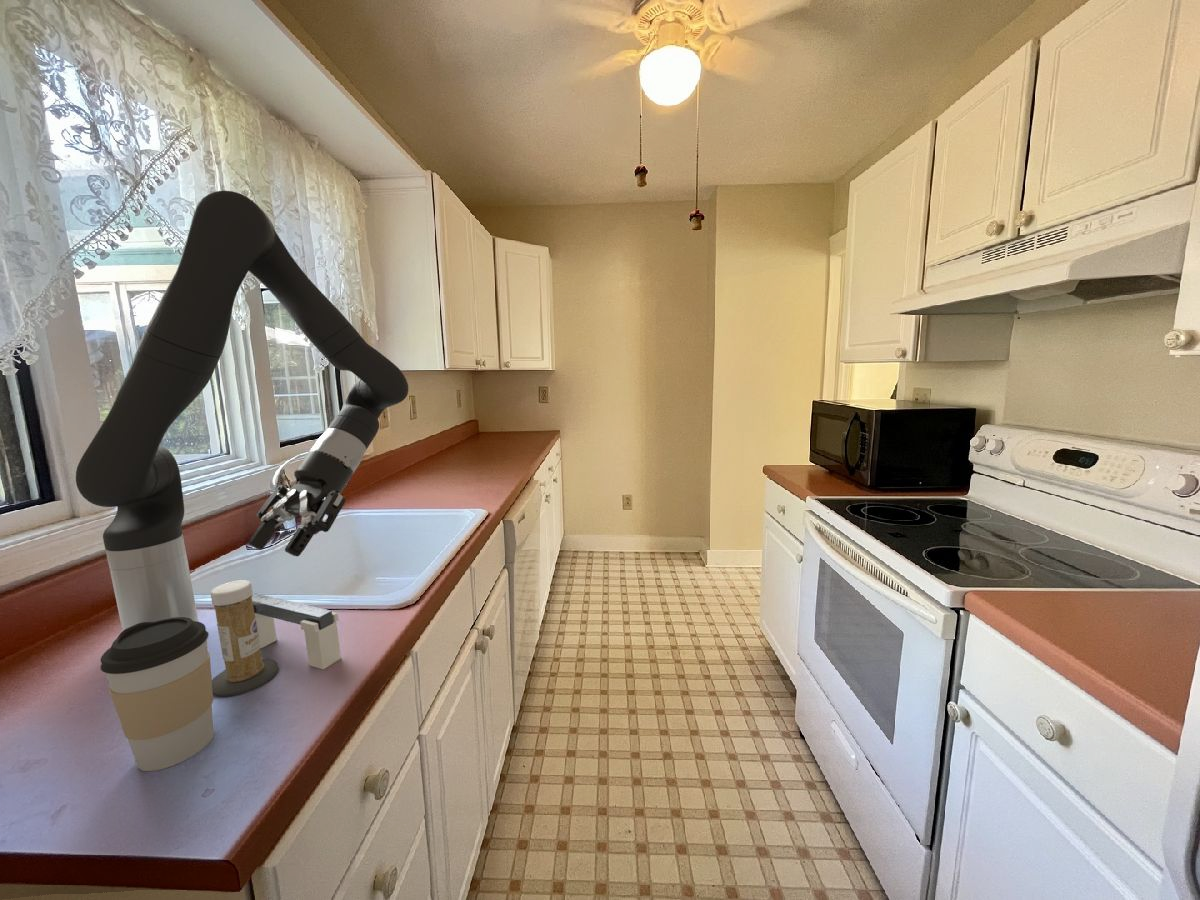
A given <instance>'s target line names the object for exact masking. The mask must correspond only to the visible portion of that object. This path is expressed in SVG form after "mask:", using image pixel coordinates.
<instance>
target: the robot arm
mask: <svg viewBox="0 0 1200 900" xmlns="http://www.w3.org/2000/svg"><path fill="white" fill-rule="evenodd" d="M248 272H249V273H250V274H251V275H253V276H254V277H255V279H257V280H258V281H259V282H261V284H262V285H263V286H264V287H265V288H266V289H267V290H268V291H269V292H271V293H270V294H272V295H273V296H274V298H276V300H277V301H278V302H279V303H280V305H281V306H282V308H284V310H285V312H287V314H289V316H290V317H291V319H292V320H293V322H294V323H295V324H296V325H297V327H298V328H299V329H300V330H301V331H302V333H303V334H304V335H305V336H306V338H308V339H307V340H309V342H311V344H313V346H314V347H315V348H316V349H317V350H318V351H319V352H320V353H321V355H323V357H324V358H325V359H326V360H327V361H328V362H329V363H330V364H331V366H333V367H334V368H336V370H337V369H338V370H339V371H348V372H352V374H354V376H356V377H357V378H358V379H357V380H356V381H355V383H354V384H353V385H352V387H351V388H350V390H349V391H348V394H347V396H346V398H345V400H344V402H343V404H342V408H341V410H340V411H339V412H338V413H337V415H336V416H335V418H334V419H333V420H332V422H331V423H329V426H328V427H327V428H326V430H325V431H324V432H323V433H322V434H321V435H320V436H319V438H317V439H316V441H315V443H314V444H313V445H312V447H311V448H310V449H309V451H308V452H307V454H306V455H305V456H304V458H303V459H302V460H301V462H300V464H299V465H298V466H297V468H296V469H295V470H294V473H293V474H294V475H293V476H294V477H295V479H296V482H295V484H293V485H292V487H290V488H287V487H286V486H284V485H282V484H279V485H278V486H276V487H275V489H274V491H273V492H272V493H271V495H270V496H268V498H267V500H266V501H265V502H264V503H263V505H261V507H260V509H258V511H257V513H256V514H255V516H256V517H258V518H259V519H260V521H261V522H260V525H259V526H258V527H257V529H256V530H255V531H254V533H253V535H252V536H251V537H250V539H249V540H248V545H249V546H251V547H252V548H255V549H256V550H263V549H264V548H265V546H266V545H267V544H268V542H269V540H270V539H271V538H272V536H273V535H274V534H275V532H276V530H277V528H278V527H280V526H281V525H282V524H284V523H285V522H289V521H292V520H294V519H295V518H301V521H300V523H301V525H300V526H301V527H298V528H297V529H296V531H295V533H294V534H293V536H292V537H291V539H290V540H289V542H288V543H287V545H286V547H285V548H284V551H285V552H286V553H287V554H290V555H291V556H294V557H299V556H300V555H302V553H303V552H304V550H305V549H306V547H307V546H308V544H309V543H310V541H311V540H312V538H313V536H314V535H315V536H316V535H317V534H318V533H320V532H324V533H327V532H328V531H330V529H331V527H332V526H333V524H334V523H335V521H336V519H337V517H338V515H339V514H340V512H341V510H342V508H343V507H344V505H345V503H346V501H347V498H346V497H344V496H343V495H342V492H343V490H344V489H345V488H346V486H347V484H348V482H349V481H350V480H351V477H352V476H353V475H354V473H355V472H356V470H357V469H358V467H359V465H360V464H361V462H362V460H363V457H364V455H365V453H366V451H368V450H367V449H368V448H369V447H370V445H371V443H372V442H373V440H374V439H375V437H376V436H377V434H378V433H379V428H380V422H379V418H380V417H381V414H382V413H383V412H384V411H385V409H387V408H390V407H392V406H395V405H398V404H399V403H402V402H403V401H405V399H406V398H407V396H408V394H409V384H408V381H407V377H406V376H405V375H404V373H403V371H401V369H400V368H399V367H398V365H396V364H394V363H393V362H392V361H391V360H390V359H388V358H387V357H386V356H385V355H384V354H382V353H381V352H380V351H378V350H377V349H376V348H374V347H372V345H370V344H369V343H367V341H365V339H364V338H363V337H362V335H361V334H360V333H359V332H358V331H357V329H356V328H355V327H354V326H353V325H352V323H350V322H349V320H348V319H347V318H346V317H345V315H344V314H342V313H341V311H340V310H339V309H338V308H337V307H336V306H335V305H334V303H332V302H331V301H330V300H329V298H328V297H326V295H325V294H324V293H322V291H321V290H320V289H319V288H318V287H317V286H316V285H315V284H314V282H313V281H312V280H311V279H310V278H309V277H308V276H307V274H306V273H305V272H304V271H303V269H302V268H301V267H300V266H299V264H298V263H297V262H296V260H295V259H294V257H293V256H292V254H291V253H290V252H289V251H288V249H287V247H286V246H285V244H284V242H283V241H282V239H281V238H280V235H278V233H277V231H276V229H274V224H273V223H272V220H271V219H270V218H269V216H268V215H267V214H266V213H265V211H264V210H263V209H262V208H261V207H260V206H259V205H258V204H257V203H256V202H255V201H253V200H252V199H251V198H249V197H248V196H246V195H244V194H242V193H239V192H236V191H231V190H218V191H213V192H210V193H208V194H206V195H205V196H204V197H202V198H201V199H200V201H199V202H198V203H197V205H196V206H195V209H194V212H193V215H192V217H191V222H190V226H189V230H188V234H187V236H186V241H185V244H184V248H183V251H182V253H181V257H180V260H179V262H178V266H177V268H176V271H175V273H174V275H173V277H172V279H171V280H170V282H169V284H168V285H167V288H166V289H165V291H164V293H163V295H162V297H161V298H160V301H159V302H158V304H157V307H156V308H155V311H154V313H153V314H152V316H151V318H150V320H149V322H148V324H147V326H146V328H145V330H144V332H143V335H142V337H141V340H140V341H139V344H138V346H137V348H136V351H135V353H134V356H133V358H132V359H133V360H132V362H131V364H130V367H129V368H128V370H127V373H126V376H125V377H124V380H123V381H122V384H121V385H120V388H119V390H118V392H117V395H116V398H115V400H114V402H113V404H112V407H111V409H110V410H109V412H108V414H107V416H106V417H105V420H104V421H103V422H102V424H101V426H100V428H99V429H98V430H97V432H96V433H95V436H94V437H93V438H92V440H91V442H90V444H89V445H88V446H87V448H86V450H85V452H83V454H82V457H81V458H80V459H79V462H78V464H77V467H76V471H75V484H76V488H77V489H78V492H79V494H80V495H81V496H82V497H83V498H84V499H85V500H86V501H88V502H89V503H91V504H92V505H94V506H98V507H101V508H102V507H103V508H116V507H117V509H116V510H117V511H116V514H115V516H114V518H113V520H112V521H111V522H110V524H109V525H107V527H106V528H105V530H104V532H103V533H102V541H103V545H104V549H105V554H106V559H107V563H108V567H109V572H110V577H111V582H112V587H113V592H114V596H115V600H116V605H117V607H116V608H117V610H118V616H119V620H120V625H121V630H122V631H124V630H125V629H127V628H129V627H131V626H134V625H136V624H138V623H143V622H155V621H159V620H163V619H168V618H175V617H187V618H190V619H192V620H193V621H197V622H199V617H198V611H197V605H196V600H195V594H194V589H193V588H194V587H193V584H192V578H191V573H190V572H191V571H190V565H189V561H188V557H187V551H186V546H185V541H184V535H183V530H182V524H183V520H184V516H185V502H184V494H183V487H182V486H183V485H182V484H183V483H182V479H181V473H180V468H179V466H178V462H177V460H176V458H175V457H174V454H173V453H171V451H170V450H168V449H167V448H166V447H165V446H164V445H161V443H162V440H163V439H164V437H165V434H166V433H167V431H168V430H169V428H170V427H171V426H172V425H173V423H174V422H175V420H177V418H179V416H180V415H181V414H182V413H184V411H185V410H186V409H187V408H188V407H189V406H190V405H191V404H192V403H193V402H194V401H195V399H196V398H197V397H199V395H200V394H201V393H202V391H203V390H204V389H205V388H206V386H207V385H208V384H209V382H210V380H211V378H212V376H213V374H214V371H215V370H216V367H217V365H218V363H219V360H220V359H221V356H222V355H223V351H224V349H225V346H226V344H227V340H228V339H227V338H228V335H229V330H230V325H231V320H232V314H233V307H234V303H235V299H236V296H237V294H238V291H239V289H240V287H241V285H242V283H243V281H244V279H245V278H246V276H247V275H248ZM271 507H272V509H271V510H269V509H270V508H271ZM268 510H269V511H268ZM278 516H279V517H278ZM325 516H326V517H327V518H326V520H325V521H324V518H325ZM122 631H121V632H122Z"/></svg>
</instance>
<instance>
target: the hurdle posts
mask: <svg viewBox="0 0 1200 900" xmlns="http://www.w3.org/2000/svg"><path fill="white" fill-rule="evenodd" d="M254 614H255V618H256V622H257V628H258V634H259V640H260V650H261V649H263V648H265V647H267V646H268V645H270V644H272V643H274V642H276V641H278V638H277V637H278V636H277V633H276V632H277V630H276V624H275V618H272V617H268V616H265V615H261V614H257V613H254ZM338 614H339V613H338V612H335V611H332V617H333V624H331V625H329V626H327V627H326V628H324V629H322V630H319V627H318V623H315V622H311V621H307V620H303V621H301V622H300V624H301V625H300V624H299V625H300V629H301V630H302V631H303V632H304V639H305V645H306V651H307V658H308V664H309V665H308V666H310V667H313V668H316V669H319V670H325V669H327V668H328V667H329V666H331V665H333V664H335V663H336V662H338V661H340V660H341V659H342V654H341V647H340V641H339V639H340V638H339V632H338V626H337V625H338V624H337V622H338V621H339V615H338Z"/></svg>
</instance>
